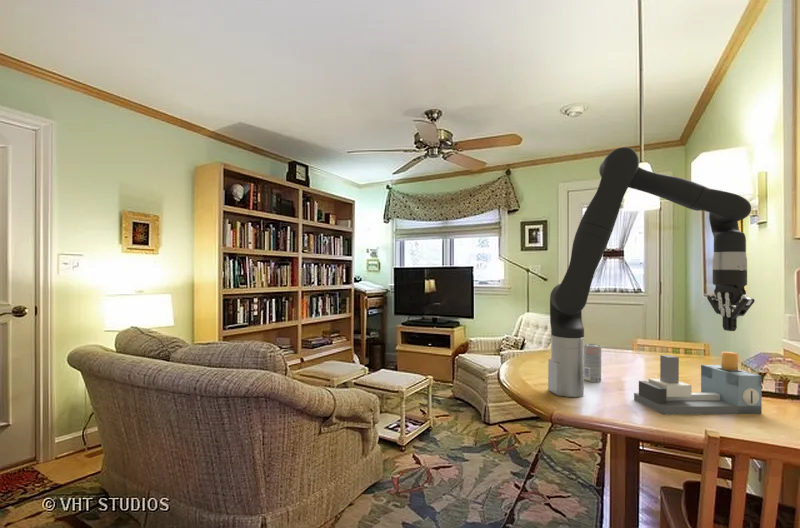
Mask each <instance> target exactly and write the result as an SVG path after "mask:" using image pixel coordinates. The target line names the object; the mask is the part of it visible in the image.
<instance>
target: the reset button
mask: <svg viewBox="0 0 800 528" xmlns="http://www.w3.org/2000/svg"><path fill="white" fill-rule="evenodd" d="M720 352H721V355H720V356H721V357H720V358H721V361H720V362H721V364H720V365H721V368H722V369H726V370H735V371H736V370H738V369H739V353H738V352H734V351H720Z"/></svg>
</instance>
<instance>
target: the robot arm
mask: <svg viewBox="0 0 800 528" xmlns="http://www.w3.org/2000/svg"><path fill="white" fill-rule="evenodd" d="M639 165H640V159H639V156H638V153H637V152H636V151H635V150H634V149H633V148H630V147H628V146H627V147H626V146H622V147H619V148H618V147H617V148H616V149H613V150H612V151H610V153H608V154H607V155H606V156H605V157H604V159H603V160H602V162H601V163H600V165H599V169H598V171H599V175H600V177H601V178H600V181H599V183H598V186H597V187H598V188H597V190H596V193H595V194H594V196H593V198H592V199H591V201H590V202H589V204H588V206H587V208H586V209H585V211H584V213H583V215H582V217H581V219H580V222H579V224H578V227H577V229H576V232H575V235H574V239H573V242H572V247H571V248H572V249H571V253H570V260H569V265H568V267H567V270H566V272H565V275H564V276H563V279H562V281H561V283H558V284H557V285H556V286H554V287H553V288H552V290H551V292H550V297H549V323H550V332H551V333H550V334H551V335H550V336H551V338H550V339H551V342H550V343H551V345H550V347H551V348H550V350H551V351H550V358H549V359H548V363H547V366H548V367H547V369H548V370H547V373H548V375H547V376H548V377H547V380H548V381H547V384H548V385H547V391H549V392H551V393H553V394H554V395H555V396H559V397H560V396H562V397H568V398H579V397H583V396H584V394H585V393H584V392H585V391H584V390H585V384H584V383H585V382H584V381H585V379H584V346H585V328H584V325H583V324H584V323H583V317H582V314H583V313H582V312H583V311H582V310H584V308H585V306H586V305H587V301H588V298H589V294H590V291H591V287H592V282H593V278H594V276H595V273H596V270H597V268H598V266H599V264H600V262H601V260H602V257H603V256H604V253H605V250H606V248H607V246H608V244H609V241H610V238H611V235H612V234H613V231H614V228H615V225H616V221H617V219H618V216H619V212H620V210H621V205H622V202H623V200H624V196H625V195H626V192H627V190H628V188H629V189H633V190H637V191H640V192H644V193H647V194H650V195H654V196H655V197H656V196H657V197H659V198H661V199H665V200H667V201H670V202H672V203H674V204H676V205H680V206H682V207H685V208H686V209H688V210H692V211H696V212H697V211H701V212H702V211H703V212H704V211H705V212H708V220H709V224H710V225H709V226H710V229H711V233H712V236H713V256H712V285H714V286H715V288H714V291H713V294H712V295H707V297H706V299H707V301H708V302H709V304H710V305H711V307H712V309H713V310H714V313H715V314H718V315H720V316H721V317H722V328H723V330H724V331H728V332H735V331H736V330H737V328H738V327H737V325H738V323H737V322H738V321H737V319H738V317H743V316H745V315H746V313H747V312H748V311H749V309H751V307H752V306H753V304H754V303H755V299H754V297H753V298H752V297H751V298H750V296H748V295H747V291H746V289H745V287H746V286H747V285H748V258H747V238H746V234H745V232H743V231H740V229H739V221H741V220H744V219H746V218H747V217H749V215H750V214H751V211H752V205H751V203H750V202H749V200H748V199H746V198H745V197H744V196H741V195H740V194H737V193H733V192H729V191H724V190H721V189H715V188H710V187H708V186H705V185H703V184H700V183H697V182H694V181H692V180H689V179H686V178H683V177H678V176H673V175H667V174H663V173H662V174H660V173H656V172H653V171H649V170H647V169H644V168H642V167H640V166H639Z"/></svg>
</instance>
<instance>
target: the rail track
mask: <svg viewBox="0 0 800 528" xmlns="http://www.w3.org/2000/svg"><path fill="white" fill-rule="evenodd" d="M762 387H763V386H762V375H761V374H758V373H754V372H750V371H747V370H742V369H739V368H738V370H736V371H735V370H726V369H722V368H721V364H701V365H700V392H692V397H666V389H665V388H662V387H660V386H657V385H655V384H652V383H650V382H649V381H647V380H638V392H633V400H634V401H635V402H638V403H639V404H642V405H644V406H646V407H647V408H650V409H652V410H654V411H656V412H658V413H661V414H662V415H664V416H665V415H667V416H668V415H672V414H673V415H746V414H748V415H752V414H754V415H755V414H757V415H759V414H761V415H762V413H763V412H762V405H763V404H762V394H763V393H762V392H763V391H762Z"/></svg>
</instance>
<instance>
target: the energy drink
mask: <svg viewBox="0 0 800 528" xmlns="http://www.w3.org/2000/svg"><path fill="white" fill-rule="evenodd" d="M584 381H585V382H590V383H601V382H602V346H601V344H595V343H584Z"/></svg>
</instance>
